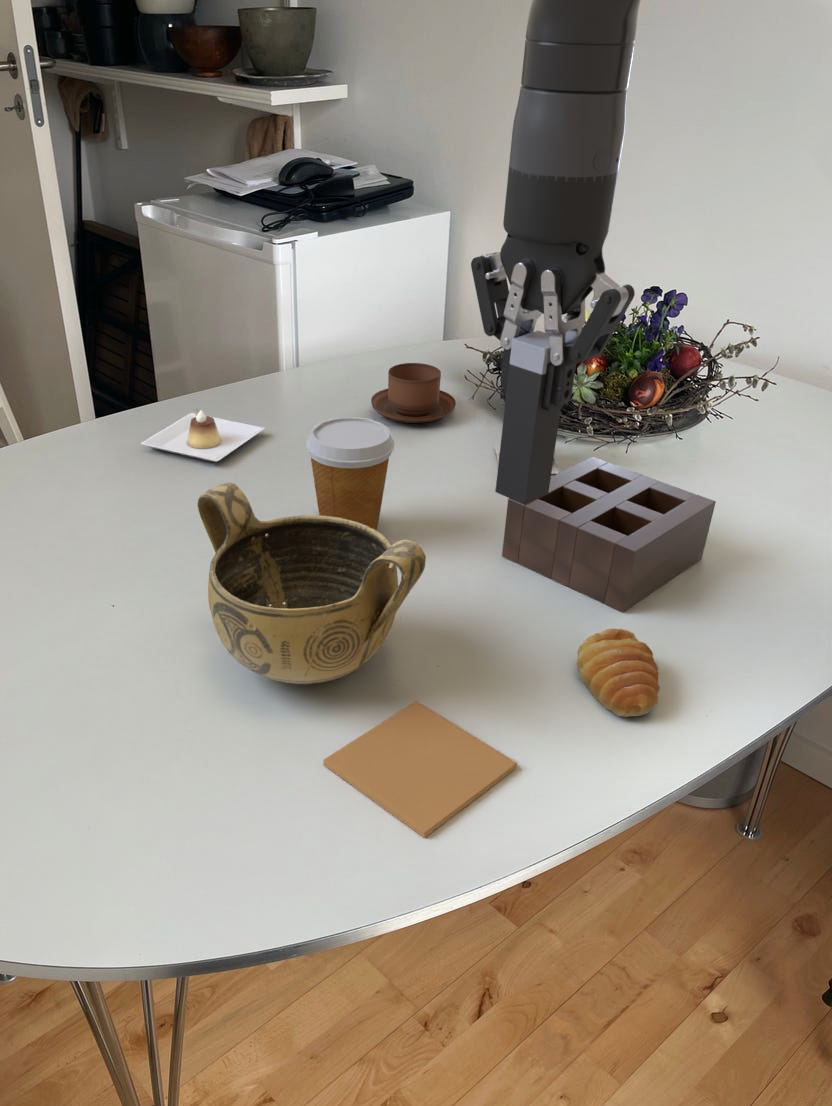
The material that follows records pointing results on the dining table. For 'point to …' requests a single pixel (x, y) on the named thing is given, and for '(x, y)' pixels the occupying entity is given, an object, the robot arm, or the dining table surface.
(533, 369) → the grey-capped tall post
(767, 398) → the dining table surface
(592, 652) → the pastry
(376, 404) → the cup and saucer
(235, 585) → the ceramic bowl
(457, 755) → the cork mat
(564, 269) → the robot arm
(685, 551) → the holder
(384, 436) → the disposable coffee cup
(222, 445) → the dessert
